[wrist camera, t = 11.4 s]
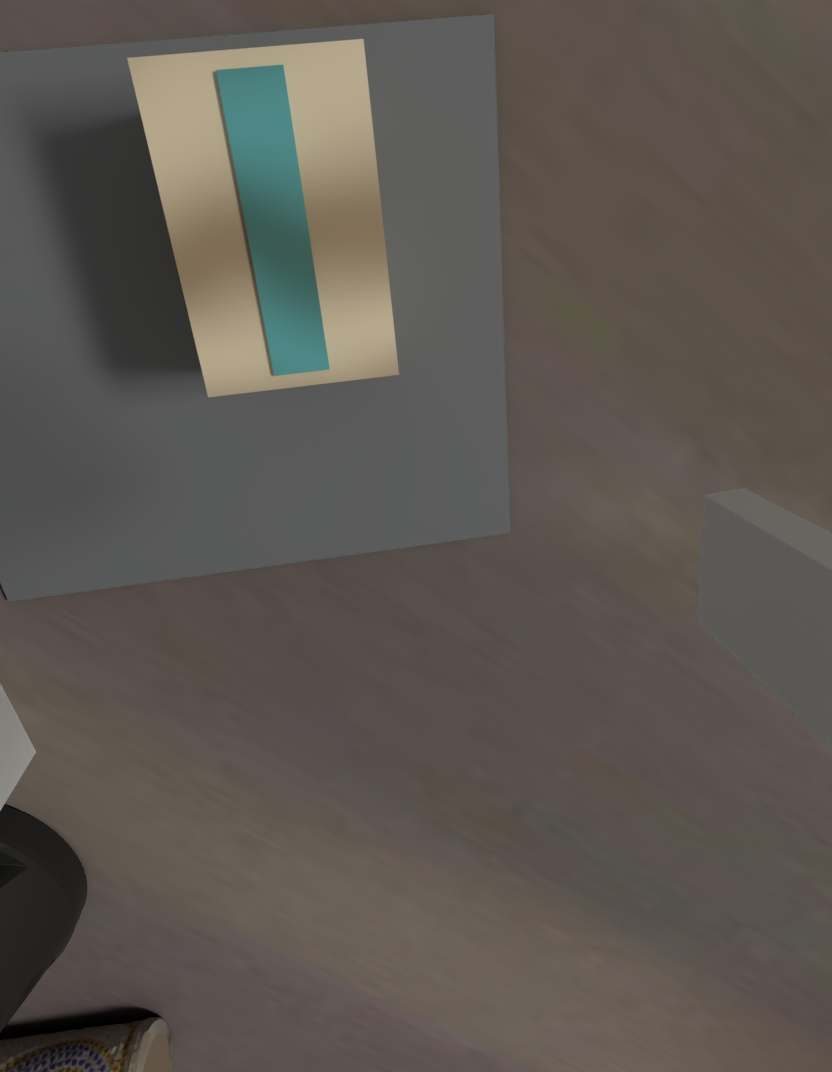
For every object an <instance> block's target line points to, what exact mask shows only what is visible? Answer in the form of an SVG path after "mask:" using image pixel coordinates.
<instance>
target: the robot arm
mask: <svg viewBox="0 0 832 1072" xmlns="http://www.w3.org/2000/svg"><path fill="white" fill-rule="evenodd" d="M696 621H697V622H698V623H699V624H700V625H701V626H702V627H703V628H704V629H705V630H706V631H707V632H708V633H709V634H710V635H711V636H713V637H714V638H715V639H716V640H717V641H718V642H719V643H720V644H721V645H722V646H723V647H724V648H725V649H726V650H727V651H728V652H730V653H731V654H732V655H733V656H734V657H735V658H736V659H737V660H738V661H739V662H740V663H741V664H742V665H743V666H744V667H745V668H747V669H748V670H749V671H750V672H751V673H752V674H753V675H754V676H755V677H756V678H757V679H758V680H759V681H760V682H761V683H762V684H763V685H765V686H766V687H767V688H768V689H769V690H770V691H771V692H772V693H773V694H774V695H775V696H776V697H777V698H778V699H779V700H780V701H782V702H783V703H784V704H785V705H786V706H787V707H788V708H789V709H790V710H791V711H792V712H793V713H794V714H795V715H796V716H797V717H799V718H800V719H801V720H802V721H803V722H804V723H805V724H806V725H807V726H808V727H809V728H810V729H811V730H812V731H813V732H814V733H816V734H817V735H818V736H819V737H820V738H821V739H822V740H823V741H824V742H825V743H826V744H827V745H828V746H829V747H830V748H831V749H832V533H830V532H828V531H826V530H824V529H822V528H820V527H818V526H816V525H814V524H812V523H810V522H808V521H806V520H804V519H802V518H800V517H799V516H797V515H795V514H793V513H791V512H789V511H787V510H785V509H783V508H781V507H779V506H777V505H775V504H773V503H771V502H769V501H768V500H766V499H764V498H762V497H760V496H758V495H756V494H754V493H752V492H750V491H748V490H746V489H744V488H742V489H736V490H731V491H725V492H720V493H714V494H709V495H704V508H703V524H702V539H701V555H700V570H699V586H698V601H697V617H696ZM35 753H36V751H35V749H34V747H33V745H32V743H31V741H30V739H29V737H28V735H27V733H26V731H25V730H24V728H23V726H22V724H21V722H20V720H19V718H18V716H17V714H16V712H15V710H14V709H13V707H12V705H11V703H10V701H9V699H8V697H7V695H6V693H5V691H4V689H3V687H2V686H1V684H0V1032H1V1031H2V1029H3V1028H4V1027H5V1026H6V1024H7V1023H8V1022H9V1020H10V1019H11V1018H12V1016H13V1015H14V1014H15V1012H16V1011H17V1010H18V1008H19V1007H20V1006H21V1004H22V1003H23V1002H24V1000H25V999H26V998H27V996H28V995H29V993H30V992H31V991H32V989H33V988H34V987H35V985H36V984H37V982H38V981H39V980H40V978H41V977H42V975H43V974H44V973H45V971H46V970H47V969H48V968H49V967H50V966H51V965H52V964H53V962H54V961H55V960H56V959H57V958H58V957H59V956H60V954H61V953H62V952H63V950H64V949H65V947H66V945H67V944H68V942H69V940H70V938H71V936H72V934H73V932H74V929H75V927H76V924H77V922H78V919H79V917H80V914H81V912H82V909H83V907H84V904H85V900H86V895H87V880H86V875H85V872H84V869H83V866H82V864H81V862H80V860H79V858H78V857H77V855H76V854H75V852H74V851H73V850H72V848H71V847H70V846H69V845H68V844H67V843H66V842H65V840H64V839H62V838H61V837H60V836H59V835H58V834H57V833H56V832H54V831H53V830H52V829H50V828H49V827H47V826H46V825H45V824H43V823H41V822H40V821H38V820H36V819H34V818H33V817H31V816H29V815H27V814H25V813H22V812H20V811H18V810H15V809H13V808H10V807H7V806H4V804H5V802H6V801H7V799H8V797H9V796H10V794H11V793H12V791H13V789H14V788H15V786H16V784H17V783H18V781H19V779H20V778H21V776H22V774H23V773H24V771H25V769H26V768H27V766H28V765H29V763H30V761H31V760H32V758H33V756H34V755H35Z"/></svg>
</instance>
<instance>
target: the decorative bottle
mask: <svg viewBox="0 0 832 1072" xmlns="http://www.w3.org/2000/svg"><path fill="white" fill-rule="evenodd" d="M171 1061H172V1055H171V1034H170V1031H169V1029H168V1026H167V1024H166V1023H165V1021H164V1020H163V1019H162V1018H158V1017H150V1018H147V1019H145V1020H141V1021H134V1022H130V1023H124V1024H113V1025H104V1026H98V1027H87V1028H84V1029H76V1030H69V1031H63V1032H55V1033H43V1034H38V1035H32V1036H25V1037H19V1038H11V1039H4V1040H0V1072H171Z"/></svg>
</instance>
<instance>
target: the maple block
mask: <svg viewBox="0 0 832 1072" xmlns="http://www.w3.org/2000/svg"><path fill="white" fill-rule="evenodd" d="M127 60H128V64H129V68H130V72H131V76H132V81H133V85H134V89H135V93H136V97H137V101H138V106H139V110H140V114H141V118H142V122H143V127H144V131H145V135H146V139H147V143H148V148H149V152H150V156H151V160H152V164H153V168H154V173H155V177H156V181H157V185H158V189H159V194H160V198H161V202H162V206H163V210H164V215H165V219H166V223H167V227H168V231H169V235H170V240H171V244H172V248H173V252H174V256H175V261H176V265H177V269H178V273H179V277H180V282H181V286H182V290H183V294H184V298H185V302H186V307H187V311H188V315H189V319H190V323H191V328H192V332H193V336H194V340H195V344H196V349H197V353H198V357H199V361H200V365H201V369H202V374H203V378H204V382H205V386H206V390H207V395H208V397H216V396H225V395H233V394H242V393H250V392H258V391H267V390H275V389H284V388H292V387H300V386H309V385H317V384H326V383H334V382H342V381H351V380H359V379H368V378H376V377H385V376H393V375H399V369H398V360H397V350H396V341H395V331H394V322H393V312H392V303H391V294H390V284H389V275H388V265H387V256H386V246H385V237H384V228H383V218H382V209H381V199H380V190H379V180H378V171H377V161H376V152H375V143H374V133H373V124H372V114H371V105H370V95H369V86H368V76H367V67H366V58H365V48H364V39H354V40H342V41H330V42H317V43H305V44H293V45H280V46H268V47H255V48H243V49H231V50H218V51H206V52H194V53H181V54H169V55H157V56H144V57H132V58H127Z"/></svg>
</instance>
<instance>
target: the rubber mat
mask: <svg viewBox="0 0 832 1072" xmlns="http://www.w3.org/2000/svg"><path fill="white" fill-rule="evenodd" d="M354 39H364V48H365V58H366V67H367V76H368V86H369V95H370V105H371V114H372V124H373V133H374V143H375V152H376V161H377V171H378V180H379V190H380V199H381V209H382V218H383V228H384V237H385V246H386V256H387V265H388V275H389V284H390V294H391V303H392V312H393V322H394V331H395V341H396V350H397V360H398V369H399V375H393V376H385V377H376V378H368V379H359V380H351V381H342V382H334V383H326V384H317V385H309V386H300V387H292V388H284V389H275V390H267V391H258V392H250V393H242V394H233V395H225V396H216V397H208V395H207V390H206V386H205V382H204V378H203V374H202V369H201V365H200V361H199V357H198V353H197V349H196V344H195V340H194V336H193V332H192V328H191V323H190V319H189V315H188V311H187V307H186V302H185V298H184V294H183V290H182V286H181V282H180V277H179V273H178V269H177V265H176V261H175V256H174V252H173V248H172V244H171V240H170V235H169V231H168V227H167V223H166V219H165V215H164V210H163V206H162V202H161V198H160V194H159V189H158V185H157V181H156V177H155V173H154V168H153V164H152V160H151V156H150V152H149V148H148V143H147V139H146V135H145V131H144V127H143V122H142V118H141V114H140V110H139V106H138V101H137V97H136V93H135V89H134V85H133V81H132V76H131V72H130V68H129V64H128V60H127V58H132V57H144V56H157V55H169V54H181V53H194V52H206V51H218V50H231V49H243V48H255V47H268V46H280V45H293V44H305V43H317V42H330V41H342V40H354ZM509 533H511V527H510V496H509V465H508V434H507V403H506V372H505V342H504V311H503V280H502V249H501V218H500V187H499V156H498V125H497V94H496V64H495V33H494V14H490V15H477V16H464V17H451V18H438V19H426V20H413V21H400V22H387V23H374V24H361V25H348V26H335V27H322V28H309V29H296V30H283V31H271V32H258V33H245V34H232V35H219V36H206V37H193V38H180V39H167V40H154V41H141V42H129V43H116V44H103V45H90V46H77V47H64V48H51V49H38V50H25V51H12V52H0V584H1V586H2V588H3V591H4V593H5V595H6V597H7V600H8V602H12V601H20V600H27V599H34V598H41V597H49V596H56V595H63V594H71V593H78V592H85V591H93V590H100V589H107V588H114V587H122V586H129V585H136V584H144V583H151V582H158V581H166V580H173V579H180V578H188V577H195V576H202V575H209V574H217V573H224V572H231V571H239V570H246V569H253V568H261V567H268V566H275V565H282V564H290V563H297V562H304V561H312V560H319V559H326V558H334V557H341V556H348V555H355V554H363V553H370V552H377V551H385V550H392V549H399V548H407V547H414V546H421V545H429V544H436V543H443V542H450V541H458V540H465V539H472V538H480V537H487V536H494V535H502V534H509Z"/></svg>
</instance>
